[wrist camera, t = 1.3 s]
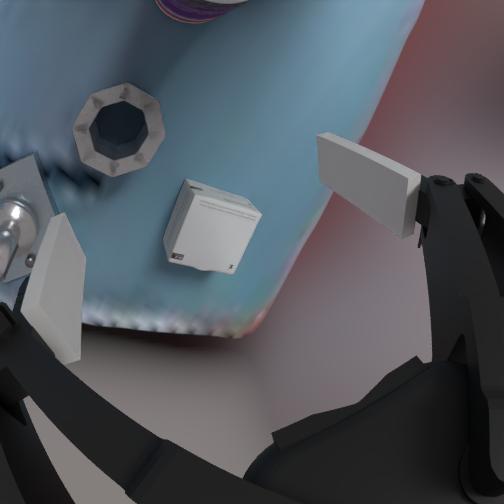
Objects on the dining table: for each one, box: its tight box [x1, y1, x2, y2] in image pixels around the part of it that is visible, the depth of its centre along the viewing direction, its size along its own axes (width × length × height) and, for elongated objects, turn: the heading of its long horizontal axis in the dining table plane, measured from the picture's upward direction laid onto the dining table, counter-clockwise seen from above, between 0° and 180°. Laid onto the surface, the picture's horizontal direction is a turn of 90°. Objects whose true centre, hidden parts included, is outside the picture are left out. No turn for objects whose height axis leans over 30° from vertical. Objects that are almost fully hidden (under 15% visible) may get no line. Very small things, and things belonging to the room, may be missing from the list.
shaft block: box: [0, 151, 59, 283], centre depth 24 cm, size 12×10×9 cm
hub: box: [72, 82, 166, 177], centre depth 25 cm, size 7×7×6 cm
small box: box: [163, 178, 262, 275], centre depth 34 cm, size 8×8×5 cm
